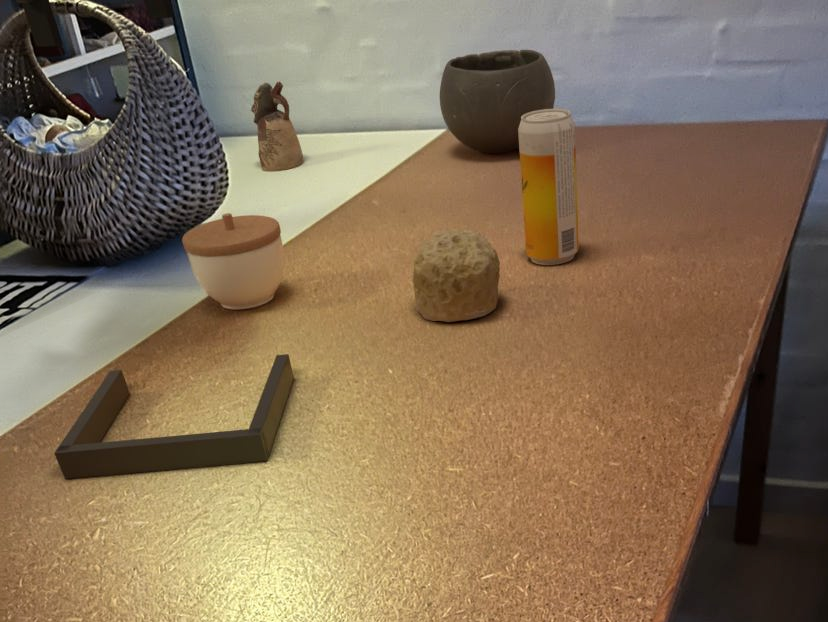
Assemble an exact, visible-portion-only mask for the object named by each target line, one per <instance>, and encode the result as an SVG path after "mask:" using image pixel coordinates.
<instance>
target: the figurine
mask: <svg viewBox="0 0 828 622" xmlns="http://www.w3.org/2000/svg"><path fill="white" fill-rule="evenodd" d="M283 87H284V84H283V83H282V82H281V81H279V80H278V81H276V83H275V85H274V87H273V86H272V85H271V84H270V83H269V82H263V83H262V84H260V85H259V86H258V88H257V89H256V91H255V92H254V95H253V104H252V105H251V108H250V109H251V110H250V111H251V112H252V113H253V114H254V118H253V121H252V122H253V124H255V125H256V127H257V131H256V132H257V133H256V134H257V143H258V159H259V163H260V168H261V170H262V171H265V172H277V171H278V172H279V171H285V170H289V169H293V168H297V167H299V166H301V165H302V164H303V162H304V155H303V150H302V146H301V143H300V139H299V138H298V135H297V132H296V130H295V127H294V125H293V122H292V120H291V119H290V105H289V102H288V100H287V99H286V97H285V96H284V95H282V90H283ZM278 105H282V108H283V109H284V110H283V111H282V110H280V109H278Z"/></svg>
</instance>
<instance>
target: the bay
mask: <svg viewBox="0 0 828 622" xmlns="http://www.w3.org/2000/svg"><path fill="white" fill-rule="evenodd" d="M294 379H295V375H294V371H293V368H292V363H291V359H290V355H289V353H285V354H276V355H275V358H274V361H273V363H272V366H271V369H270V372H269V374H268V377H267V379H266V382H265V384H264V388H263V390H262V393H261V396H260V398H259V401H258V403H257V406H256V408H255V412H254V414H253V417H252V419H251V422H250V424H249V427H248V428H246V429H245V428H244V429H234V430H224V431H223V430H222V431H211V432H200V433H191V434H190V433H189V434H179V435H169V436H159V437H147V438H135V439H125V440H113V441H102V440H103V438H104V437H105V435H106V433H107V432H108V430H109V428H110V427H111V425H112V423H113V422H114V421H115V419H116V417H117V415H118V414H119V412H120V411H121V409H122V407H124V404H125V402H126V401H127V399H128V398H129V396H130V393H131V392H130V390H129V387H128V384H127V382H126V379H125V376H124V373H123V370H122V369H118V370H110V371H109V372H108V373H107V374H106V376H105V378H104V379H103V381H102V382H101V383H100V385H99V386H98V388H97V389H96V390H95V392H94V394H93V396H92V397H91V398H90V399H89V401H88V402H87V404H86V406H85V407H84V409H83V410H82V412H81V413H80V415H79V416H78V417H77V419H76V420H75V422H74V423H73V425H72V426H71V428H70V429H69V431H68V432H67V434H66V435H65V436H64V438H63V439H62V441H61V442H60V444H59V446H58V447H57V448H56V449H55V451H54V453H53V454H54V457H55V459H56V461H57V464H58V466H59V468H60V470H61V473H62V476H63V478H64V479H65V480H70V479H72V480H73V479H81V478H94V477H103V476H105V477H106V476H115V475H116V476H117V475H125V474H126V475H127V474H139V473H148V472H149V473H150V472H159V471H173V470H182V469H195V468H205V467H217V466H228V465H239V464H251V463H261V462H268V459H269V456H270V452H271V450H272V446H273V444H274V441H275V438H276V434H277V432H278V428H279V425H280V422H281V419H282V417H283V413H284V409H285V407H286V404H287V401H288V397H289V395H290V392H291V389H292V386H293V382H294ZM101 441H102V442H101Z"/></svg>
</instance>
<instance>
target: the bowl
mask: <svg viewBox="0 0 828 622" xmlns="http://www.w3.org/2000/svg"><path fill="white" fill-rule="evenodd" d="M555 100H556V86H555V81H554V76H553V73H552V70H551V68H550V65H549V62H548V61H547V59H546V57H545V56H544V55H543V54H542V52H540V51H536V50H533V49H519V50H517V49H510V50H509V49H504V50H494V51H489V52H482V53H479V54H477V53H471V54H470V53H469V54H466V55H463V56H457V57H454V58H452V59H450V60H448V61H447V63H446V64H445V67H444V68H443V72H442V76H441V81H440V86H439V107H440V112H441V115H442V118H443V121H444V123H445V126H446V127H447V129H448V130H449V132H450V133H451V134H452V135H453V136H454V138H456V139H457V141H459V142H460V143H461V144H463V145H464V146H466V147H468V148H470V149H472V150H474V151H477V152H481V153H486V154H501V153H502V154H503V153H507V152H511V151H514V150H516V149H519V135H518V128H519V125H520V122H521V116H522V115H524V114H526V113H529V112H532V111H537V110H543V109H555V108H554V106H555Z"/></svg>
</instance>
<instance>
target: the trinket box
mask: <svg viewBox="0 0 828 622" xmlns="http://www.w3.org/2000/svg"><path fill="white" fill-rule="evenodd" d="M281 231H282V229H281V226H280V223H279V221H278V220H277V219H276V218H273V217H271V216H266V215H259V214H258V215H256V214H255V215H253V214H250V215H249V214H248V215H236V216H233V214H232V213H231V212H228V213H227V212H226V213H223V214H221V218H219V219H214V220H211V221H207V222H205V223H202V224H200V225H197V226H195V227H193V228H191V229H189V230H188V231H186V232H185V233H184V235H183V236H182V238H181V242H182V245H183V248H184V250H185V252H186V255H187V260H188V262H189V265H190V268H191V271H192V273H193V275H194V277H195V279H196V281H197V283H198V285H199V286H200V287H201V289H202V290H203V291H204V292H205V293H206V295H208V297H210V298H212V299H213V300H215V301H216V302H218V303H220V305H221V307H222V308H224V309H228V310H234V311H237V310H238V311H239V310H240V311H241V310H248V309H249V310H250V309H253V308H258V307H260V306H263V305H266V304H268V303H269V302H271V301H272V300H273V299H274V297H275V293H276V291H277V290H278V288H279V286H280V284H281V282H282V280H283V276H284V270H285V251H284V246H283V240H282V235H281V233H282V232H281Z"/></svg>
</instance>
